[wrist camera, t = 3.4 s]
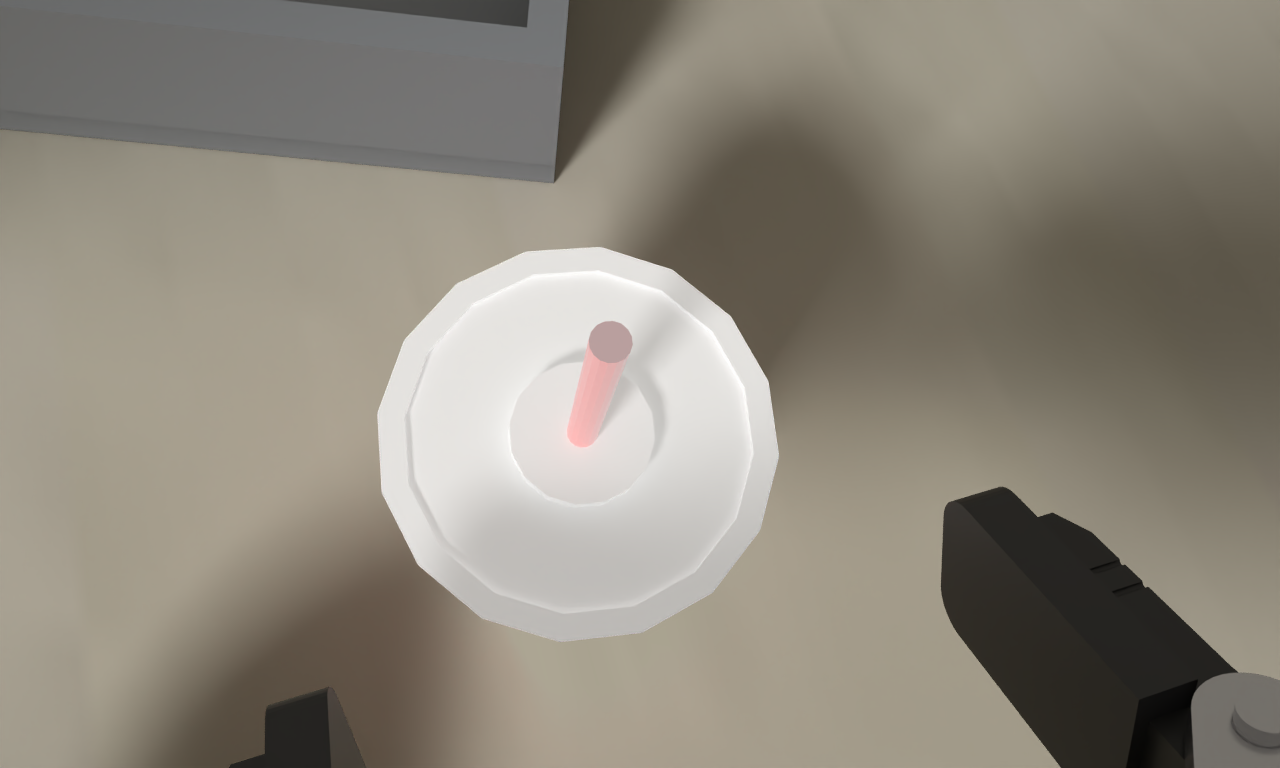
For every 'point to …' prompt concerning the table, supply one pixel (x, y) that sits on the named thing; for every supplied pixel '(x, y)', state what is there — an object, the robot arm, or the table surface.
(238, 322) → the table surface
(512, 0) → the tray
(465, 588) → the beverage cup
